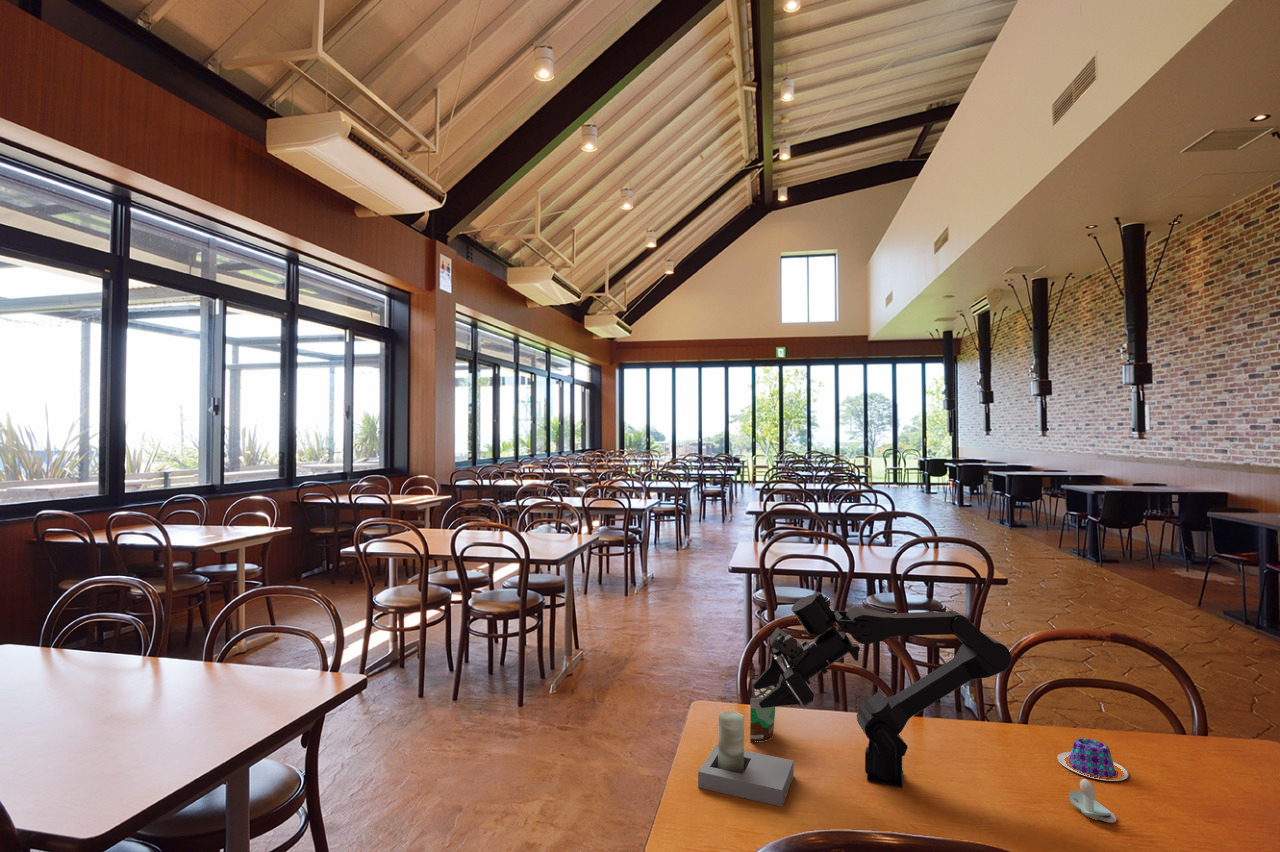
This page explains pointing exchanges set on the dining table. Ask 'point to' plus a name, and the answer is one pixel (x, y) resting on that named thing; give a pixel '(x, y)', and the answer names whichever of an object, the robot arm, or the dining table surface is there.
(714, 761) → the pocket board
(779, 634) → the robot arm
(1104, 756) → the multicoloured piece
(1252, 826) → the dining table surface
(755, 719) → the food container
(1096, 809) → the pacifier
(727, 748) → the peg
